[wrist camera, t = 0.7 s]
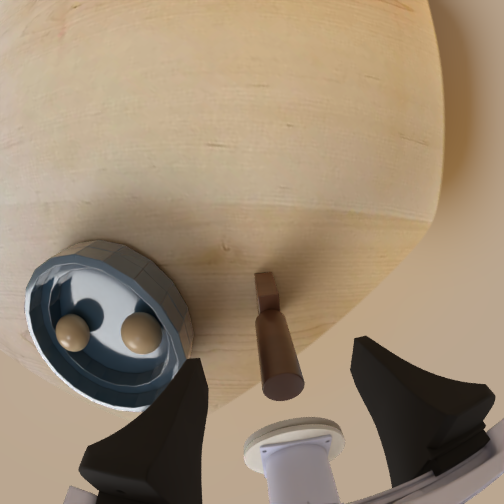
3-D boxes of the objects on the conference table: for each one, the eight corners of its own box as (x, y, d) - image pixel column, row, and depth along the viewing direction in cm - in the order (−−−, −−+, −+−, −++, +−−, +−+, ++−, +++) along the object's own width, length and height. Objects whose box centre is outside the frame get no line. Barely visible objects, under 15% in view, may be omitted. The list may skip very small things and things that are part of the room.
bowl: (208, 380, 21) (204, 414, 17) (83, 376, 21) (67, 401, 17) (175, 226, 17) (157, 242, 13) (34, 249, 17) (4, 265, 13)
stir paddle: (279, 316, 20) (303, 409, 11) (254, 319, 19) (265, 415, 11) (276, 271, 18) (305, 353, 10) (249, 273, 18) (258, 359, 10)
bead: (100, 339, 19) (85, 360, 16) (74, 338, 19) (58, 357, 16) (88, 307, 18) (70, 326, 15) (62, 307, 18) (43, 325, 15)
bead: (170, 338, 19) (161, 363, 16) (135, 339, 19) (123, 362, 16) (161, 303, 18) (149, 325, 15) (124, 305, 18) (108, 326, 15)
